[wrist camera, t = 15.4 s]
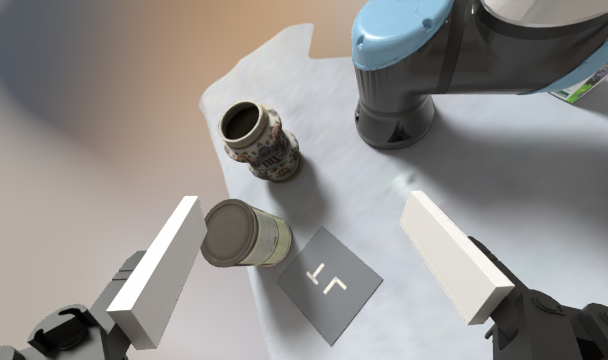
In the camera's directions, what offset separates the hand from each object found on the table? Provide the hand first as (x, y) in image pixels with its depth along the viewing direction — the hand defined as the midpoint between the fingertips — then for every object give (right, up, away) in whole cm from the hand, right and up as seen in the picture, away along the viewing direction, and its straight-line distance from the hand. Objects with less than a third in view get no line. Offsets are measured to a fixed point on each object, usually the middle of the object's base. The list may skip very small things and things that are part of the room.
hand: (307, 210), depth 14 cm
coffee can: (-7, -11, +32) cm, 35 cm away
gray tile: (+4, -16, +26) cm, 31 cm away
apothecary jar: (-5, +6, +38) cm, 39 cm away
